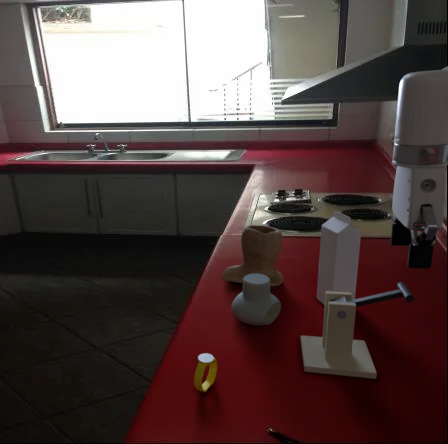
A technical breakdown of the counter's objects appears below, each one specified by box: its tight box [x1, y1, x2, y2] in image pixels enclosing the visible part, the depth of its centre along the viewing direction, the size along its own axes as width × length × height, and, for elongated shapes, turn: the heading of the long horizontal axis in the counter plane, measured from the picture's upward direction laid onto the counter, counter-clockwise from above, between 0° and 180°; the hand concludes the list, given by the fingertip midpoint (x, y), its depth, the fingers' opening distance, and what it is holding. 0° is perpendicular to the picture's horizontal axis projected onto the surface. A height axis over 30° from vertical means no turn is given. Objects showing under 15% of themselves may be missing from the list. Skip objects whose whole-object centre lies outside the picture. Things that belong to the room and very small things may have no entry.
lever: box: [329, 281, 416, 308], centre depth 74 cm, size 13×5×2 cm, turn 78°
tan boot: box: [221, 224, 284, 287], centre depth 110 cm, size 15×12×15 cm
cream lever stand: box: [299, 291, 378, 380], centre depth 77 cm, size 12×10×13 cm
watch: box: [193, 352, 218, 393], centre depth 73 cm, size 6×3×6 cm, turn 146°
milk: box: [316, 210, 362, 306], centre depth 95 cm, size 6×6×22 cm
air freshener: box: [231, 274, 282, 327], centre depth 92 cm, size 11×8×10 cm
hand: (409, 255), depth 70 cm, fingers open, 9 cm apart
